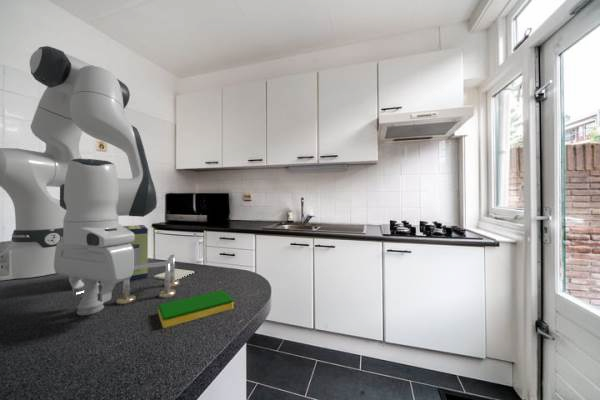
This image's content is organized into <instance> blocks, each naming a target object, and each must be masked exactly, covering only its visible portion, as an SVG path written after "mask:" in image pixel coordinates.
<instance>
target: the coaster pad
mask: <svg viewBox="0 0 600 400" xmlns="http://www.w3.org/2000/svg"><path fill="white" fill-rule="evenodd" d="M192 273H193V274H195V270H187V269H180V268H175V280H177V279H178V280H179V279H182V277H183V278H185V277H187V275H188V276H190V275H189V274H191V275H193V274H192ZM184 276H185V277H184ZM153 279H159V280H165V271H164V272H161V273H159V274H158V273H157V274H155V275H153Z"/></svg>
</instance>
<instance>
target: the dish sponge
mask: <svg viewBox="0 0 600 400" xmlns="http://www.w3.org/2000/svg"><path fill="white" fill-rule="evenodd" d="M157 309H158V313H157V314H158V317H159V320H160V324H161V326H162V328H163V329H166V328H170V327H173V326H177V325H179V324H183V323H188V322H190V321H193V320H194V321H195V320H197V319H202V318H205V317H208V316H211V315H215V314H218V313H221V312H225V311H228V310H233V309H234V298H232V296H230V295H229V294H228V293H227V292H226V291H225V290H223V289H222V290H217V291H213V292H208V293H205V294H199V295H196V296H192V297H191V296H190V297H187V298H186V297H185V298H181V299H177V300H174V301H168V302H164V303H160V304H158V308H157Z"/></svg>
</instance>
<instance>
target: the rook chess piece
mask: <svg viewBox="0 0 600 400" xmlns="http://www.w3.org/2000/svg"><path fill="white" fill-rule="evenodd" d="M81 281H82V282H83V283H84V286H83V287H82V288H83V289H84V292H83V295H82V297H81V299H80V301H79V304H78V305H77V311H76V315H78V316H81V317H82V316H83V317H84V316H85V317H86V316H91V315H95V314H98V313H100V312H101V311H103V309H104V308H105V305H104V303H105V302H100V301H98V300H97V299H98V297H97V294H98V293H100V290H99V287H100V286H99V285H100V284H99V283H98V282H99V281H95V280H90V279H84V278H82V280H81Z"/></svg>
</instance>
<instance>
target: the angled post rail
mask: <svg viewBox="0 0 600 400" xmlns="http://www.w3.org/2000/svg"><path fill="white" fill-rule="evenodd" d="M175 263H176V257H175V254H170V255H169V256H168V258H167V260H166V261H157V262H148V263H144V264H134V269H140V268H158V267H160V268H161V267H164V272H165V279H164V290H161V291H160V292H159V293H158V297H159V298H160V299H168V298H173V297H174V296H176V290H175V289H171V288H172V287H176V286H179V285H180V280H179V279H178V280H175V269H176V268H175V267H176V264H175ZM130 282H131V281H130V279H128V280H126V281H123V282H122V289H123V290H122V296H120V297H117V298H116V304H117V305H118V306H119V305H120V306H124V305H128V304H131V303H134V302H135V301H136V299H137V298H136V295H135V294H130V285H131V284H130Z"/></svg>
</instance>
